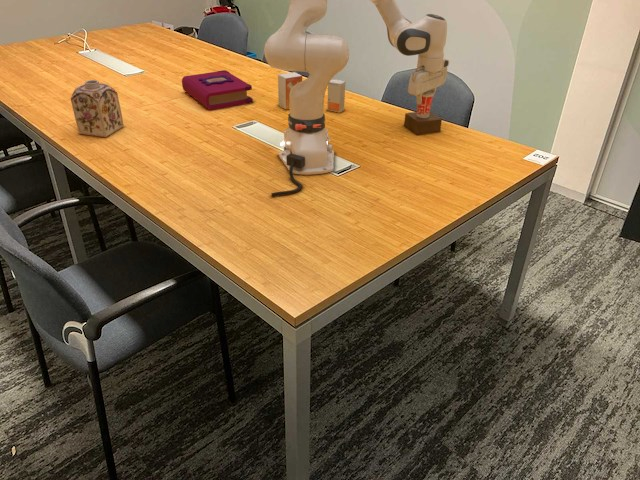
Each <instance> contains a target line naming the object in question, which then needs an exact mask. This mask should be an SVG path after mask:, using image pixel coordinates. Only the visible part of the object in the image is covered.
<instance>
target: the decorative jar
mask: <svg viewBox="0 0 640 480" xmlns="http://www.w3.org/2000/svg"><path fill="white" fill-rule="evenodd" d="M118 94H119V93H118V91H117V90H116V89H114V88H113V87H112V86H110V85H109V84H107V83H102V82H101V83H100V81H99V80H97V79H89V80H86V81H85V82H84V84H81V85H78V86H77V87H75V88H74V90H73V92H72V94H71V97H70V103H71V107H72V111H73V116H74V120H75V123H76V127H77V130H78V131H77V132H78V134H79V135H85V136H92V137H99V138H100V137H101V138H107V137H109V136H110V135H112V134H113V133H116V132H117V131H119V130H121V129H122V128H123V127H124V126H125V125H124V124H125V123H124V119H123V114H122V110H121V109H122V108H121V104H120V100H119V99H120V98H119V95H118Z"/></svg>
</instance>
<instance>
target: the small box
mask: <svg viewBox="0 0 640 480" xmlns="http://www.w3.org/2000/svg"><path fill="white" fill-rule="evenodd" d="M302 81H303V75H302V74H299V73H297V71H291V72H286V73H281V74H277V94H278V95H277V97H278V98H277V99H278V100H277V101H278V106H279V107H280V108H282V109H283V110H290V107H289V93H290V90H291V88H292V87H293V86H294V85H296V84H297V83H299V82H302Z"/></svg>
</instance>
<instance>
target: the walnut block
mask: <svg viewBox="0 0 640 480" xmlns="http://www.w3.org/2000/svg"><path fill="white" fill-rule="evenodd" d="M442 121H443V119H442V118H441V117H439V116H438V115H437V114H435V113H433V112H432V111H430V114H429V117H428V118H420V117H417V111H413V112H406V113H404V122H403V126H404V128H406V129H408V130H409V131H411V132H412V133H413V134H415V135H416V136H421V135H426V134H427V135H429V134H434V133H441V128H442Z"/></svg>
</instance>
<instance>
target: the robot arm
mask: <svg viewBox="0 0 640 480" xmlns="http://www.w3.org/2000/svg"><path fill="white" fill-rule="evenodd" d="M369 1H370V2H371V3H372V4H374V6H375V7H376V9H377V11H378V12H379V14H380V16H381V18H382V20H383V21H384V24H385V26H386V32H387V39H388V42H389V44H390V45H391V46H392V47H393V48H395V49H396V50H397V51H398V52H399V53H400V54H402V55H403V56H407V57H410V56H416V55H417V62H416V68H414V71H413V72H412V73H411V75H410V78H409V81H408V85H407V86H408V87H407V92H408V94H409V95H411V96H415V98H416V99H415V100H416V102H415V103H416V105H417V104H419V105H420V104H422V103H423V99H422V97H421V96H422V94H423V93H424V92H426V91H429V90H430V91H433V92H434V96H435V93H436V91H437V88H438V87H441V86H444V85H445V83H446V80H447V74H448V67H449V65H450V60H449V59H447V58H445V57H444V55H445V54H444V48H445V45H446V41H447V34H448V23H447V20H446V19H445V18H444V17H443V16H441V15H438V14H433V13H428V14H425V15H424V16H423V17H422V18H420V19H419V20H417V21H414V22H411V21H410V20H409V19H407V18H406V17H405V16H404V15H403V14H402V12H401V11H400V8H399V6H398V4H397V2H396V1H395V0H369ZM327 11H328V0H289V6H288V11H287V15H286V17H285V20H284V22H283V23H282V25H281V26H280V27H279V29H277V30H276V31H275V32H274V33H273V34H271V35H270V36H269V37H268V38H267V40H266V42H265V44H264V50H263V54H264V58H265V61H266V63H267V64H268V66H269V67H270V68H271V69H274V70H275V69H276V70H279V71H283V72H300V73H304V72H305V73H308V77H307V78H306V79H303V80H302V82H299V83H297V84H296V85H294V86H293V87H292V88H291V90H290V93H289V107H290V109H289V113H288V115H287V116H288V117H287V123H288V124H287V125H288V127H287V128H286V129H284V131H283V141H282V142H280V147H281V146H283V150H282V151H279V152H278V157H279V158H280V160H281V162H282V163H283V165H284V166H285V167H286V168H287V170H288V171H289V177H290V180H291V181H292V183H293V184H295V185H296V186H297V187H296V188H294V189H291V190H283V191H275V192H271V193H270V194H271V197H276V196H277V197H278V196H284V195H291V194H295V193H296V194H297V193H298V192H299V191H301V190H302V189H303V184H302V183H300V182H298V181H297V180H296V179H295V177H294V175H301V176H303V175H304V176H305V175H308V176H309V175H322V174H327V173H330V172H333V171H334V166H335V151H334V149H333V144H331V143H330V144H329V142H331V136H329V129H328V128H327V127H326V116H325V113H324V111H325V110H324V109H325V97H326V91H327V89H328V84H329V82H330V81H331V80H332V79H334V77H335V76H336V75H337V74H338V73H340V72H341V71H343V70H344V68H345V67H346V66H347V65H348V62H349V58H350V48H349V45H348V43H347V41H346V40H345V39H344V38H343V37H340V36H337V35H332V34H328V33H327V34H324V33H307V32H306V31H307V30H308V28H309V27H310V26H311V25H313V24H315V23H317V22H320V21H321V20H322V19H323V18H324V17H325V16H326V14H327ZM434 96H433V98H434Z"/></svg>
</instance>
